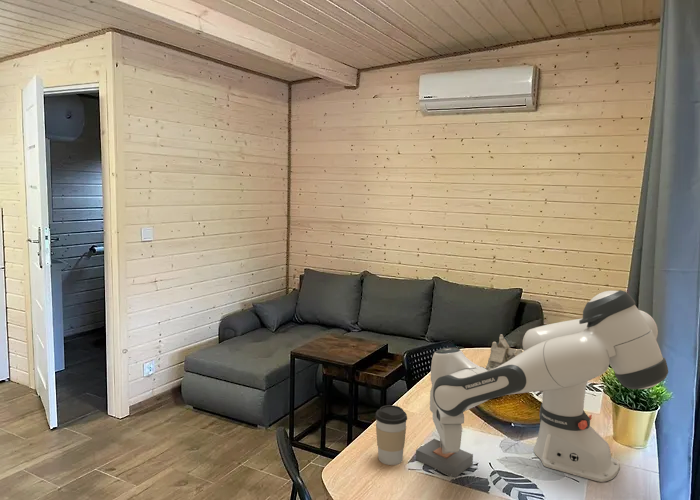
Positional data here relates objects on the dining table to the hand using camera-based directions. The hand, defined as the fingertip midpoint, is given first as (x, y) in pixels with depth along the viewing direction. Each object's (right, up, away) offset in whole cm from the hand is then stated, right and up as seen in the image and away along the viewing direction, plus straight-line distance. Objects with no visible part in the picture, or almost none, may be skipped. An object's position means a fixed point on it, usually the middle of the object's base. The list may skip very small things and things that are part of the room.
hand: (444, 451), depth 145 cm
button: (0, -3, +1) cm, 3 cm away
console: (0, -3, 0) cm, 3 cm away
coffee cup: (-15, -3, +2) cm, 16 cm away
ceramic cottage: (+40, +5, +73) cm, 83 cm away
